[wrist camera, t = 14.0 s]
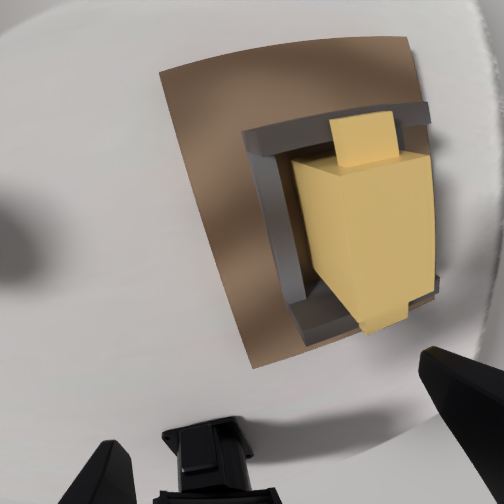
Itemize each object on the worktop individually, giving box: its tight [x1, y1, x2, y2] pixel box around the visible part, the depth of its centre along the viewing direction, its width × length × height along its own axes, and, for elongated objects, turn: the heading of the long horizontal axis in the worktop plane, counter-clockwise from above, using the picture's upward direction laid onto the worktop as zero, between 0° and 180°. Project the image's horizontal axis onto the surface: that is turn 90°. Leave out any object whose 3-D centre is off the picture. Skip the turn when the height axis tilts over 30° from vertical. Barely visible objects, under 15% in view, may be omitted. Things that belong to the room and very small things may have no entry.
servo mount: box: [159, 36, 440, 369], centre depth 16 cm, size 18×14×6 cm
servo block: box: [289, 111, 435, 335], centre depth 14 cm, size 10×4×6 cm, turn 14°
